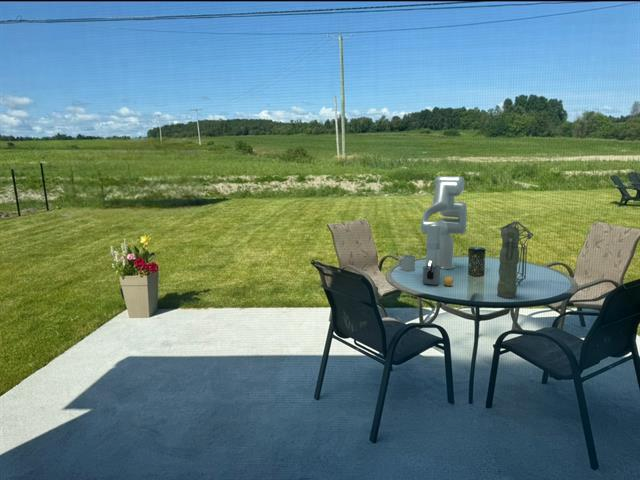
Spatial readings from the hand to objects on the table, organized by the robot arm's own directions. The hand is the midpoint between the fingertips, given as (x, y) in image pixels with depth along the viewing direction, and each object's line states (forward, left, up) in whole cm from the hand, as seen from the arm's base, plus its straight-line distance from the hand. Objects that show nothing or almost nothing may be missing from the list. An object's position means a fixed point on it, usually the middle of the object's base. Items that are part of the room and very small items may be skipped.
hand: (431, 277), depth 249 cm
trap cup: (0, 0, -3) cm, 3 cm away
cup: (-26, -21, -4) cm, 34 cm away
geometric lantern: (-20, +40, -4) cm, 45 cm away
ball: (0, +9, -1) cm, 9 cm away
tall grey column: (+6, +39, -4) cm, 40 cm away
